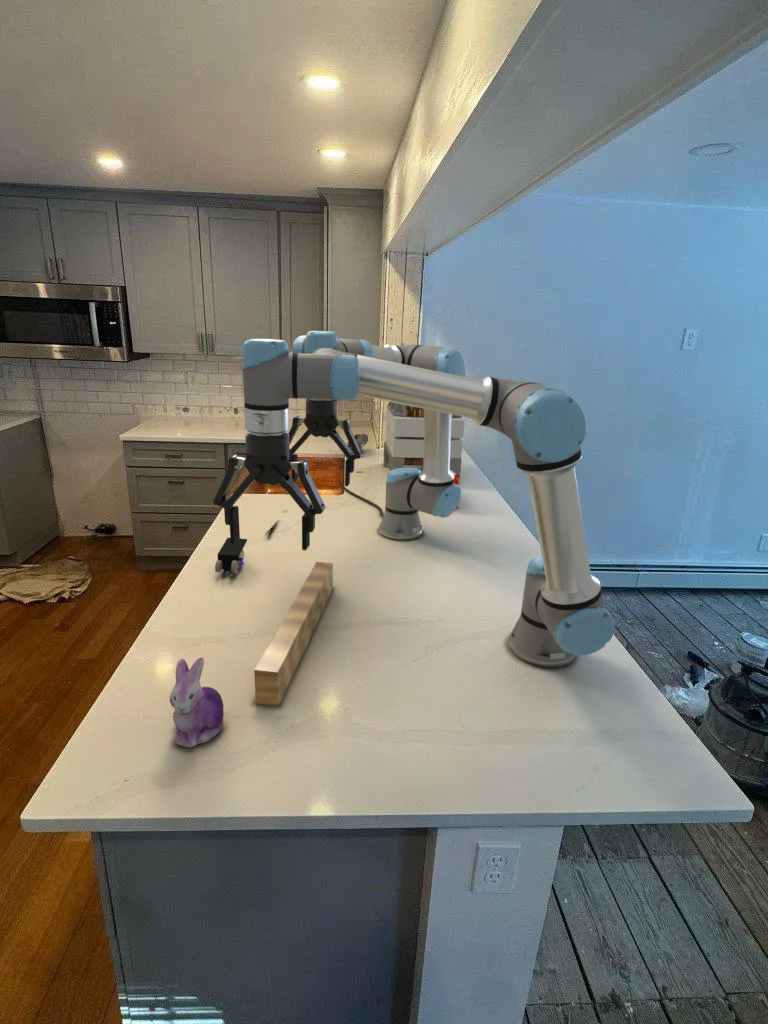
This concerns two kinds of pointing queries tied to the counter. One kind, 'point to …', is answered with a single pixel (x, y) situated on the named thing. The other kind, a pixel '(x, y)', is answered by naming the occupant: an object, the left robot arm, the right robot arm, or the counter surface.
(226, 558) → the black boxy wheeled piece
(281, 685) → the post
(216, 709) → the figurine
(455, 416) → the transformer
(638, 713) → the counter surface
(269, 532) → the feather
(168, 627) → the counter surface
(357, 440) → the fossil
